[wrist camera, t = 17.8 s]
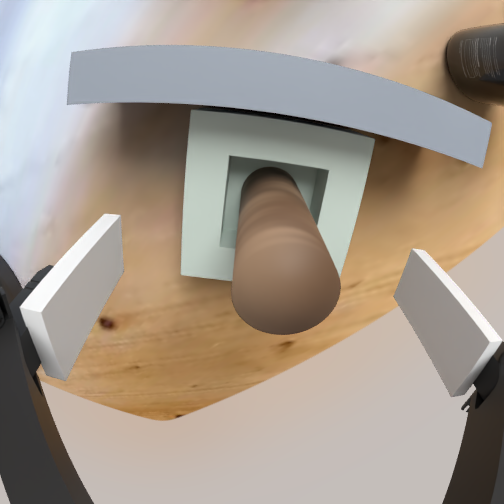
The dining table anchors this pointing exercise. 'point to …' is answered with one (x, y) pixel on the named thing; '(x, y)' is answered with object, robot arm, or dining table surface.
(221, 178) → the socket block
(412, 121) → the wall
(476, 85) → the supplement bottle
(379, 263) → the dining table surface
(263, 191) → the dowel
